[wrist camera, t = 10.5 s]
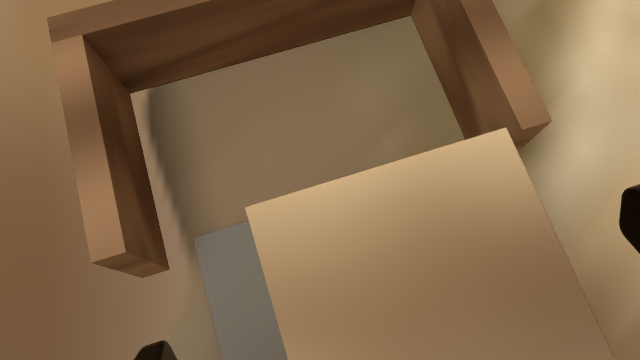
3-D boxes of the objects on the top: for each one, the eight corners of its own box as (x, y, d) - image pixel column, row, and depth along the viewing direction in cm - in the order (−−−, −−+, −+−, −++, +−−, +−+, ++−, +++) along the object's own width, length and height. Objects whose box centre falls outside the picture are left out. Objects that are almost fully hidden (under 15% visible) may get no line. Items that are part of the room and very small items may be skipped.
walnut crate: (503, 164, 23) (551, 120, 18) (142, 277, 21) (90, 262, 17) (424, -10, 26) (447, -88, 21) (101, 79, 24) (47, 18, 19)
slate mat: (545, 405, 20) (548, 406, 20) (261, 508, 19) (259, 511, 18) (443, 162, 23) (445, 159, 23) (194, 239, 22) (193, 237, 22)
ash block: (441, 359, 20) (638, 409, 8) (325, 400, 20) (333, 521, 7) (398, 244, 21) (505, 127, 9) (290, 279, 21) (245, 207, 9)
